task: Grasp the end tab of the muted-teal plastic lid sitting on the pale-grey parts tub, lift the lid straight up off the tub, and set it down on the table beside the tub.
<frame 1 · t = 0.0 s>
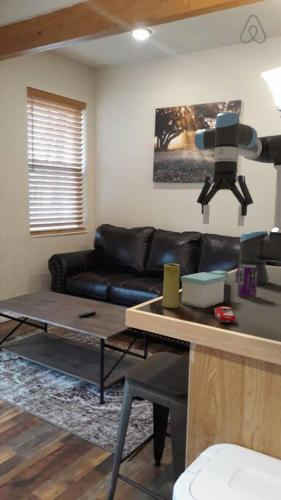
hand: (222, 225, 138), 28 cm above the table, fingers open, 13 cm apart
tub: (202, 302, 145), on the table
vase: (170, 306, 140), on the table
beverage can: (246, 296, 156), on the table
race car: (224, 320, 126), on the table
lid: (203, 280, 144), point 8 cm above the table, touching tub
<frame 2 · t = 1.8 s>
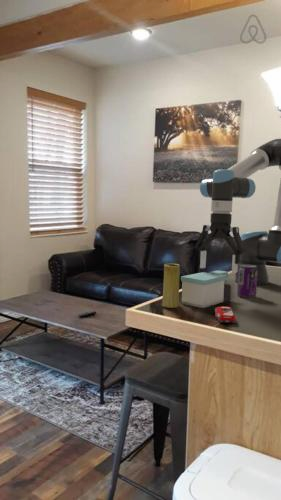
hand: (218, 270, 151), 11 cm above the table, fingers open, 13 cm apart
nothing on the table moved.
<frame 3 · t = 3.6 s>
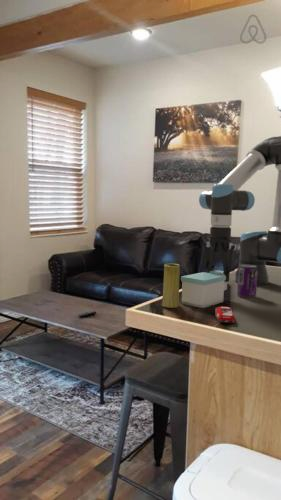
hand: (218, 288, 152), 4 cm above the table, fingers closed on lid, 4 cm apart
lid: (203, 280, 144), point 8 cm above the table, touching gripper, tub
everything else where it was.
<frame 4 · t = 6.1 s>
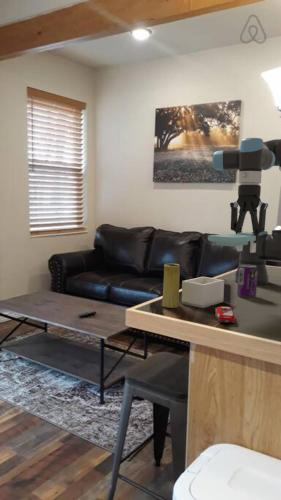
hand: (246, 251, 143), 19 cm above the table, fingers closed on lid, 4 cm apart
lid: (232, 240, 135), point 23 cm above the table, touching gripper
everything else where it was.
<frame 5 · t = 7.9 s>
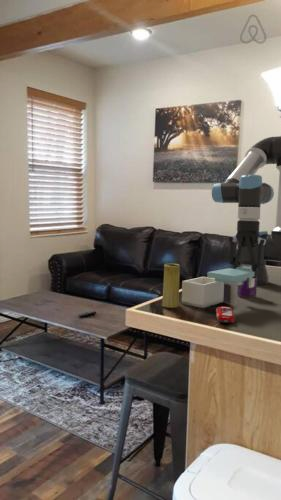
hand: (244, 285, 144), 6 cm above the table, fingers closed on lid, 4 cm apart
lid: (231, 276, 136), point 11 cm above the table, touching gripper
everything else where it was.
when the fingers open (2 cm above the table, at t = 9.0 s): lid drops 4 cm, point 2 cm above the table.
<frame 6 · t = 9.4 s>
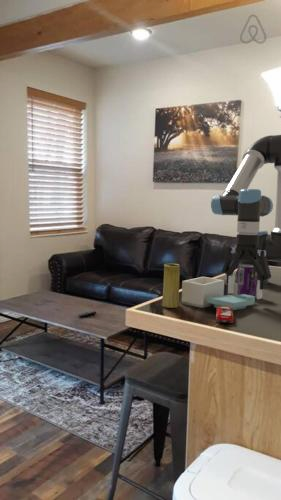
hand: (244, 295, 144), 3 cm above the table, fingers open, 10 cm apart
lid: (230, 303, 137), point 2 cm above the table, tilted 5°
everything else where it was.
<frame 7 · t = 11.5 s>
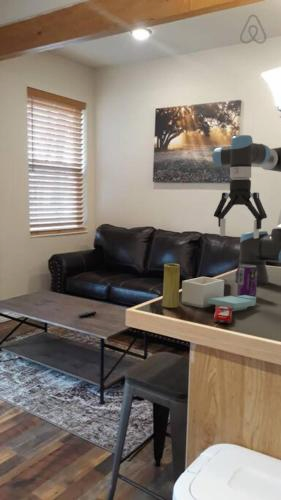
hand: (238, 237, 152), 23 cm above the table, fingers open, 13 cm apart
race car: (223, 320, 126), on the table, touching lid
lid: (231, 304, 136), point 2 cm above the table, tilted 6°, touching race car
everything else where it was.
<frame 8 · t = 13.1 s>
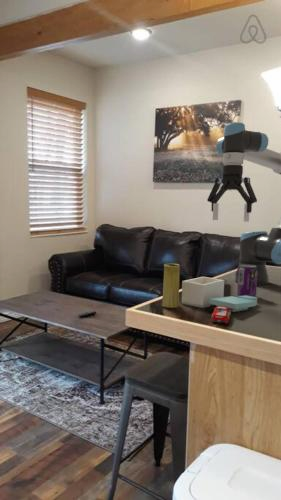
hand: (230, 220, 158), 29 cm above the table, fingers open, 13 cm apart
race car: (221, 320, 126), on the table
lid: (232, 304, 135), point 2 cm above the table, tilted 5°
everything else where it was.
at the end: lid inside the target area (1.4 cm from its centre), point 1.8 cm above the table; lid touching race car, table; the gripper is holding nothing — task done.
